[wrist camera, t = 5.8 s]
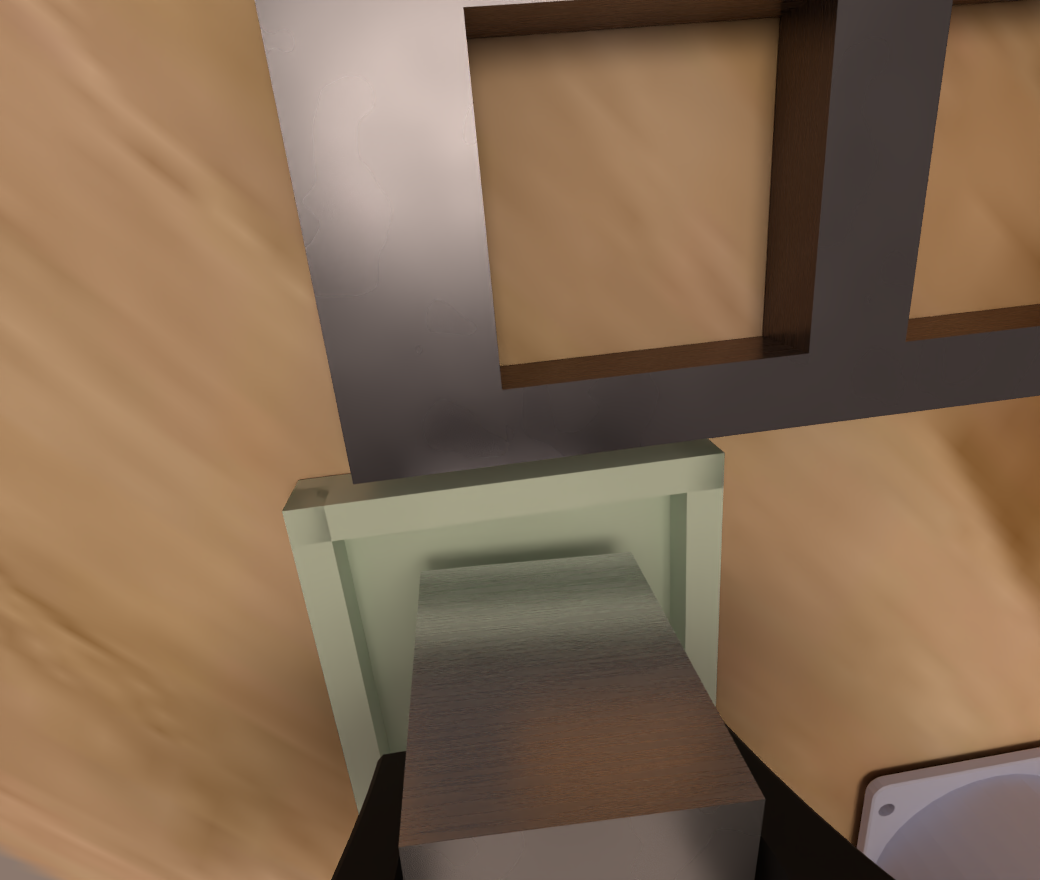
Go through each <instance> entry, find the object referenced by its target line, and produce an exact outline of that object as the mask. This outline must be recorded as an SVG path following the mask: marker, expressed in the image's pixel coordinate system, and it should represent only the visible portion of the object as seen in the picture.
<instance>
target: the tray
mask: <svg viewBox="0 0 1040 880" xmlns="http://www.w3.org/2000/svg"><path fill="white" fill-rule="evenodd" d="M724 456H725V453H724V452H723V451H722V450H721V449H719V448H718V447H717V446H716V445H715V444H713V443H712V442H711V441H710V440H709V439H700V440H692V441H684V442H676V443H669V444H661V445H653V446H646V447H638V448H630V449H622V450H615V451H607V452H599V453H592V454H584V455H576V456H569V457H561V458H553V459H545V460H538V461H530V462H522V463H515V464H507V465H499V466H491V467H484V468H476V469H468V470H461V471H453V472H445V473H437V474H430V475H422V476H414V477H407V478H399V479H391V480H383V481H376V482H368V483H360V484H353V481H352V476H351V474H343V475H335V476H328V477H320V478H312V479H304V480H298V482H297V484H296V486H295V488H294V490H293V492H292V494H291V496H290V497H289V499H288V501H287V503H286V505H285V507H284V509H283V511H282V513H283V517H284V521H285V525H286V528H287V532H288V536H289V540H290V544H291V548H292V552H293V556H294V560H295V564H296V568H297V572H298V576H299V580H300V584H301V588H302V592H303V596H304V600H305V603H306V607H307V611H308V615H309V619H310V623H311V627H312V631H313V635H314V639H315V643H316V647H317V651H318V655H319V659H320V663H321V667H322V671H323V675H324V678H325V682H326V686H327V690H328V694H329V698H330V702H331V706H332V710H333V714H334V718H335V722H336V726H337V730H338V734H339V738H340V742H341V746H342V750H343V753H344V757H345V761H346V765H347V769H348V773H349V777H350V781H351V785H352V789H353V793H354V797H355V801H356V805H357V809H358V813H360V811H361V808H362V805H363V803H364V800H365V797H366V795H367V792H368V789H369V786H370V783H371V780H372V777H373V774H374V771H375V768H376V765H377V761H378V760H379V759H380V757H381V756H382V755H383V754H389V753H395V752H401V751H406V748H407V736H408V723H409V711H410V698H411V686H412V674H413V661H414V649H415V636H416V624H417V611H418V599H419V586H420V574H421V571H426V570H437V569H448V568H459V567H470V566H481V565H492V564H503V563H514V562H525V561H536V560H547V559H558V558H569V557H580V556H591V555H602V554H613V553H624V552H631V553H632V555H633V556H634V558H635V560H636V562H637V564H638V566H639V567H640V569H641V571H642V573H643V575H644V577H645V579H646V580H647V582H648V584H649V586H650V588H651V590H652V591H653V593H654V595H655V597H656V599H657V601H658V602H659V604H660V606H661V608H662V610H663V612H664V613H665V615H666V617H667V619H668V621H669V623H670V625H671V626H672V628H673V630H674V632H675V634H676V636H677V637H678V639H679V641H680V643H681V645H682V647H683V648H684V650H685V652H686V654H687V656H688V658H689V659H690V661H691V663H692V665H693V667H694V669H695V671H696V672H697V674H698V676H699V678H700V680H701V682H702V683H703V685H704V687H705V689H706V691H707V693H708V694H709V696H710V698H711V700H712V702H713V704H714V705H715V707H716V687H717V658H718V629H719V600H720V571H721V542H722V514H723V485H724Z"/></svg>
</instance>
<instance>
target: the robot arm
mask: <svg viewBox="0 0 1040 880" xmlns="http://www.w3.org/2000/svg"><path fill="white" fill-rule="evenodd" d="M724 724H725V723H724ZM725 726H726V728H727V729H728V731H729V733H730V735H731V737H732V739H733V740H734V742H735V744H736V746H737V748H738V750H739V752H740V753H741V755H742V757H743V759H744V761H745V763H746V764H747V766H748V768H749V770H750V772H751V774H752V775H753V777H754V779H755V781H756V783H757V785H758V786H759V788H760V790H761V792H762V794H763V796H764V798H765V807H764V814H763V821H762V828H761V836H760V843H759V850H758V857H757V865H756V872H755V879H754V880H1040V747H1037V748H1032V749H1026V750H1021V751H1015V752H1010V753H1004V754H999V755H994V756H988V757H983V758H977V759H972V760H966V761H961V762H955V763H950V764H944V765H939V766H934V767H928V768H923V769H917V770H912V771H906V772H901V773H895V774H890V775H884V776H880V777H877V778H875V779H874V780H872V781H871V782H870V783H869V784H868V786H867V788H866V792H865V799H864V805H863V811H862V818H861V824H860V830H859V837H858V843H857V848H856V847H855V846H854V845H852V844H851V843H850V842H849V841H848V840H847V839H846V838H844V837H843V836H842V835H841V834H840V833H839V832H837V831H836V830H835V829H834V828H833V827H832V826H831V825H829V824H828V823H827V822H826V821H825V820H824V819H823V818H822V817H820V816H819V815H818V814H817V813H816V812H815V811H814V810H813V809H812V808H810V807H809V806H808V805H807V804H806V803H805V802H804V801H803V800H802V799H801V798H800V797H799V796H798V795H797V794H795V793H794V792H793V791H792V790H791V789H790V788H789V787H788V786H787V785H786V784H785V783H784V782H783V781H782V780H781V779H780V778H779V777H778V776H776V775H775V774H774V773H773V772H772V771H771V770H770V769H769V768H768V767H767V766H766V765H765V764H764V763H763V762H762V761H761V760H760V759H759V758H758V757H757V756H756V755H755V754H754V753H753V752H752V751H751V750H750V749H749V748H748V747H747V746H746V745H745V744H744V743H743V741H742V740H741V739H740V738H739V737H738V736H737V735H736V734H735V733H734V732H733V731H732V730H731V729H730V728H729V727H728V726H727V725H726V724H725ZM405 761H406V751H401V752H395V753H389V754H383V755H382V756H381V757H380V759H379V760H378V761H377V765H376V768H375V771H374V774H373V777H372V780H371V783H370V786H369V789H368V792H367V795H366V797H365V800H364V803H363V805H362V808H361V811H360V813H359V816H358V818H357V821H356V823H355V826H354V828H353V831H352V833H351V836H350V838H349V840H348V842H347V845H346V847H345V849H344V852H343V854H342V856H341V858H340V861H339V863H338V865H337V868H336V870H335V872H334V875H333V877H332V879H331V880H403V873H402V867H401V860H400V853H399V835H400V823H401V810H402V798H403V785H404V773H405Z"/></svg>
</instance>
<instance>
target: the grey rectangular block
mask: <svg viewBox="0 0 1040 880" xmlns="http://www.w3.org/2000/svg"><path fill="white" fill-rule="evenodd" d="M764 807H765V798H764V796H763V794H762V792H761V790H760V788H759V786H758V785H757V783H756V781H755V779H754V777H753V775H752V774H751V772H750V770H749V768H748V766H747V764H746V763H745V761H744V759H743V757H742V755H741V753H740V752H739V750H738V748H737V746H736V744H735V742H734V740H733V739H732V737H731V735H730V733H729V731H728V729H727V728H726V726H725V724H724V722H723V720H722V718H721V717H720V715H719V713H718V711H717V709H716V707H715V705H714V704H713V702H712V700H711V698H710V696H709V694H708V693H707V691H706V689H705V687H704V685H703V683H702V682H701V680H700V678H699V676H698V674H697V672H696V671H695V669H694V667H693V665H692V663H691V661H690V659H689V658H688V656H687V654H686V652H685V650H684V648H683V647H682V645H681V643H680V641H679V639H678V637H677V636H676V634H675V632H674V630H673V628H672V626H671V625H670V623H669V621H668V619H667V617H666V615H665V613H664V612H663V610H662V608H661V606H660V604H659V602H658V601H657V599H656V597H655V595H654V593H653V591H652V590H651V588H650V586H649V584H648V582H647V580H646V579H645V577H644V575H643V573H642V571H641V569H640V567H639V566H638V564H637V562H636V560H635V558H634V556H633V555H632V553H631V552H624V553H613V554H602V555H591V556H580V557H569V558H558V559H547V560H536V561H525V562H514V563H503V564H492V565H481V566H470V567H459V568H448V569H437V570H426V571H421V574H420V586H419V599H418V611H417V624H416V636H415V649H414V661H413V674H412V686H411V698H410V711H409V723H408V736H407V748H406V761H405V773H404V785H403V798H402V810H401V823H400V835H399V853H400V860H401V867H402V873H403V880H754V879H755V872H756V865H757V857H758V850H759V843H760V836H761V828H762V821H763V814H764Z"/></svg>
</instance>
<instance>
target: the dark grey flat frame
mask: <svg viewBox="0 0 1040 880" xmlns="http://www.w3.org/2000/svg"><path fill="white" fill-rule="evenodd" d="M1003 1H1017V0H255V4H256V9H257V14H258V19H259V24H260V29H261V34H262V38H263V43H264V48H265V53H266V58H267V63H268V68H269V73H270V78H271V83H272V88H273V93H274V97H275V102H276V107H277V112H278V117H279V122H280V127H281V132H282V137H283V142H284V147H285V152H286V157H287V161H288V166H289V171H290V176H291V181H292V186H293V191H294V196H295V201H296V206H297V211H298V216H299V220H300V225H301V230H302V235H303V240H304V245H305V250H306V255H307V260H308V265H309V270H310V275H311V279H312V284H313V289H314V294H315V299H316V304H317V309H318V314H319V319H320V324H321V329H322V334H323V338H324V343H325V348H326V353H327V358H328V363H329V368H330V373H331V378H332V383H333V388H334V393H335V397H336V402H337V407H338V412H339V417H340V422H341V427H342V432H343V437H344V442H345V447H346V452H347V456H348V461H349V466H350V471H351V476H352V481H353V484H360V483H368V482H376V481H383V480H391V479H399V478H407V477H414V476H422V475H430V474H437V473H445V472H453V471H461V470H468V469H476V468H484V467H491V466H499V465H507V464H515V463H522V462H530V461H538V460H545V459H553V458H561V457H569V456H576V455H584V454H592V453H599V452H607V451H615V450H622V449H630V448H638V447H646V446H653V445H661V444H669V443H676V442H684V441H692V440H700V439H707V438H715V437H723V436H730V435H738V434H746V433H754V432H761V431H769V430H777V429H784V428H792V427H800V426H808V425H815V424H823V423H831V422H838V421H846V420H854V419H862V418H869V417H877V416H885V415H892V414H900V413H908V412H916V411H923V410H931V409H939V408H946V407H954V406H962V405H969V404H977V403H985V402H993V401H1000V400H1008V399H1016V398H1023V397H1031V396H1039V395H1040V304H1036V305H1028V306H1019V307H1011V308H1002V309H993V310H985V311H976V312H967V313H959V314H950V315H941V316H933V317H924V318H916V319H909V313H910V306H911V298H912V291H913V284H914V277H915V270H916V262H917V255H918V248H919V241H920V234H921V226H922V219H923V212H924V205H925V198H926V190H927V183H928V176H929V169H930V162H931V154H932V147H933V140H934V133H935V126H936V118H937V111H938V104H939V97H940V90H941V82H942V75H943V68H944V61H945V54H946V47H947V39H948V32H949V25H950V18H951V11H952V5H959V4H974V3H988V2H1003ZM772 17H781V19H780V37H779V55H778V73H777V92H776V110H775V128H774V146H773V164H772V183H771V201H770V219H769V237H768V256H767V274H766V292H765V310H764V328H763V336H760V337H751V338H743V339H734V340H725V341H717V342H708V343H700V344H691V345H682V346H674V347H665V348H656V349H648V350H639V351H630V352H622V353H613V354H605V355H596V356H587V357H579V358H570V359H561V360H553V361H544V362H535V363H527V364H518V365H509V366H501V367H500V365H499V355H498V345H497V335H496V325H495V315H494V306H493V296H492V286H491V276H490V266H489V256H488V247H487V237H486V227H485V217H484V207H483V197H482V187H481V178H480V168H479V158H478V148H477V138H476V128H475V118H474V109H473V99H472V89H471V79H470V69H469V59H468V49H467V40H466V39H468V38H483V37H497V36H511V35H526V34H540V33H555V32H569V31H584V30H598V29H613V28H627V27H642V26H656V25H670V24H685V23H699V22H714V21H728V20H743V19H757V18H772Z"/></svg>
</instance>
